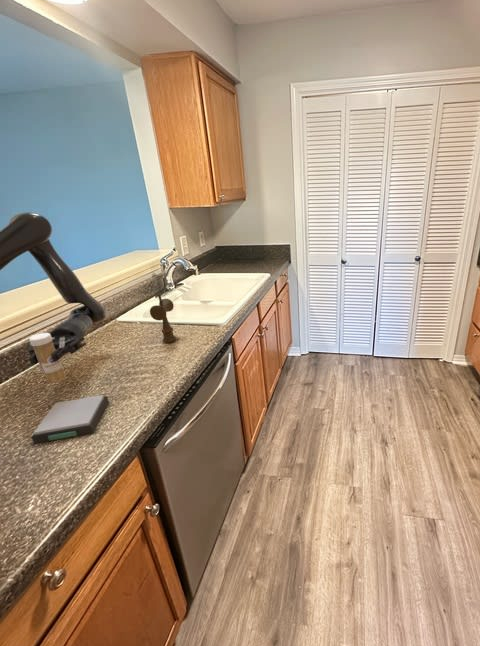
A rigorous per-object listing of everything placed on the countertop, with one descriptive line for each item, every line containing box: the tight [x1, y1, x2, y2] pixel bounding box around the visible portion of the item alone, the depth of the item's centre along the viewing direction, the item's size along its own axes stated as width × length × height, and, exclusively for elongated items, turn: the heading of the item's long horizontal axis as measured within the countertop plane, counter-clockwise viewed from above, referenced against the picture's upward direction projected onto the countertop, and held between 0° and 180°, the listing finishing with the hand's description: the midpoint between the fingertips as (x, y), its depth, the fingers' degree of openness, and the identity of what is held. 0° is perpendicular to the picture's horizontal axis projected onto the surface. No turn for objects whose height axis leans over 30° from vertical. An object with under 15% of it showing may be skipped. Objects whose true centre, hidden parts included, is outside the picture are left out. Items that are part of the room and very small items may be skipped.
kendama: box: [149, 292, 177, 343], centre depth 125 cm, size 6×10×20 cm, turn 1°
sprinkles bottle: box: [28, 332, 67, 384], centre depth 87 cm, size 5×5×14 cm
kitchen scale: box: [31, 394, 110, 445], centre depth 85 cm, size 13×13×3 cm
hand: (43, 359), depth 84 cm, fingers closed on sprinkles bottle, 4 cm apart
